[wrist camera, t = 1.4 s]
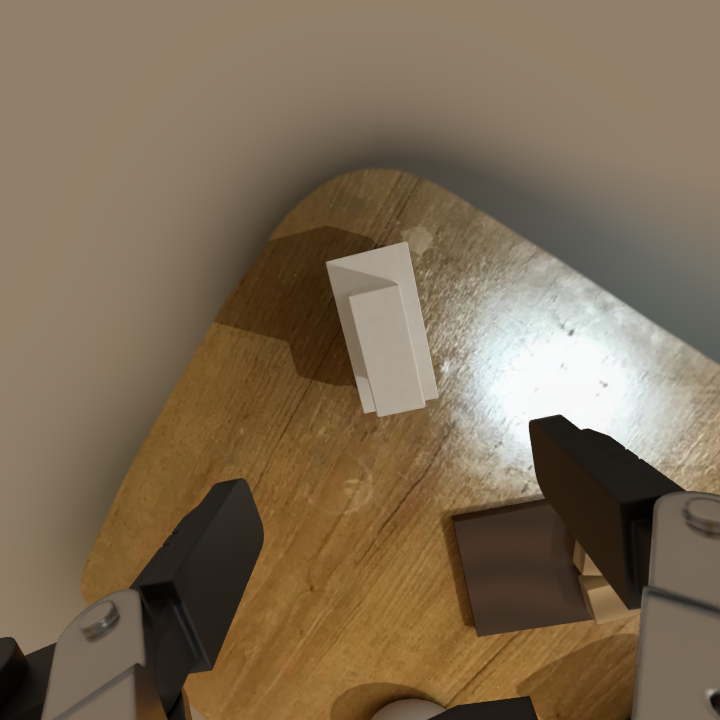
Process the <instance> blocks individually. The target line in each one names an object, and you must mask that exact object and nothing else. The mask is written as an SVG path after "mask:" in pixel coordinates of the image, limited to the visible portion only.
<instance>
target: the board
mask: <svg viewBox="0 0 720 720" xmlns="http://www.w3.org/2000/svg"><path fill="white" fill-rule="evenodd" d="M452 520H453V525H454V529H455V534H456V539H457V543H458V548H459V553H460V558H461V562H462V567H463V572H464V577H465V581H466V586H467V591H468V596H469V600H470V605H471V610H472V614H473V619H474V624H475V629H476V632H477V636H478V637H481V636H487V635H494V634H500V633H507V632H514V631H520V630H527V629H534V628H540V627H547V626H553V625H560V624H567V623H573V622H580V621H586V620H593V618H592V616H591V615H590V613H589V612H588V610H587V608H586V604H585V601H584V597H583V594H582V591H581V587H580V584H579V580H578V576H579V575H582V574H581V572H580V571H579V569H578V568H577V566H576V565H575V564H574V562H573V555H574V548H575V541H576V539H575V537H574V536H573V534H572V533H571V532H570V530H569V529H568V528H567V526H566V525H565V524H564V522H563V521H562V520H561V518H560V517H559V516H558V514H557V513H556V512H555V510H554V509H553V507H552V506H551V505H550V503H549V502H548V501H547V499H543V500H538V501H532V502H527V503H521V504H516V505H510V506H505V507H500V508H494V509H489V510H483V511H478V512H472V513H467V514H461V515H456V516H452Z"/></svg>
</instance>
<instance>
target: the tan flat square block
mask: <svg viewBox="0 0 720 720" xmlns="http://www.w3.org/2000/svg"><path fill="white" fill-rule="evenodd" d="M573 562H574V564H575V565H576V566H577V568H578V569H579V571H580V572H581V574H582V575H602V574H601V572H600V571H599V570H598V568H597V567H596V566H595V564H594V563H593V562H592V560H591V559H590V557H589V556H588V555H587V553H586V552H585V551H584V549H583V548H582V547H581V545H580V544H579V543H578V541H577V540H576V541H575V548H574V555H573ZM602 576H603V575H602Z"/></svg>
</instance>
